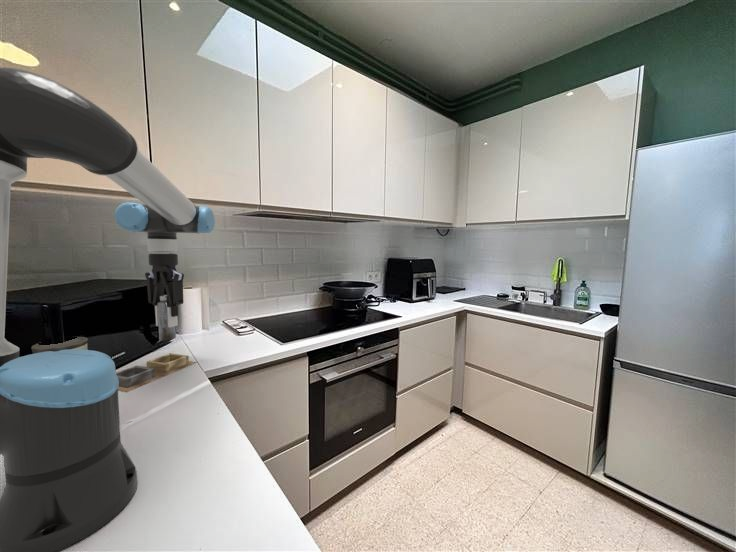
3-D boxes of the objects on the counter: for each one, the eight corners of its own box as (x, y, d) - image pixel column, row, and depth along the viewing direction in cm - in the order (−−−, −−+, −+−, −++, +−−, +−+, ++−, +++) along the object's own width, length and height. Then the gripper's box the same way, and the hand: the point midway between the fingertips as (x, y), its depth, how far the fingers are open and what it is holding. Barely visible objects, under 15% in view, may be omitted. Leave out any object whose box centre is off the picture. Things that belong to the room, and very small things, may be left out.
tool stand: (126, 397, 76) (126, 383, 75) (95, 391, 79) (94, 377, 79) (197, 366, 97) (197, 354, 96) (170, 362, 100) (170, 351, 100)
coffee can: (25, 405, 71) (20, 350, 70) (50, 387, 81) (47, 338, 80) (79, 397, 76) (75, 345, 74) (97, 381, 85) (94, 335, 84)
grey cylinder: (166, 341, 90) (164, 296, 89) (155, 339, 91) (153, 296, 90) (179, 337, 94) (177, 294, 93) (169, 335, 95) (166, 294, 94)
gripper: (195, 253, 91) (198, 325, 93) (154, 252, 96) (158, 320, 98) (173, 253, 84) (177, 331, 86) (130, 252, 89) (134, 326, 91)
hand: (167, 325), depth 92 cm, fingers closed on grey cylinder, 4 cm apart
